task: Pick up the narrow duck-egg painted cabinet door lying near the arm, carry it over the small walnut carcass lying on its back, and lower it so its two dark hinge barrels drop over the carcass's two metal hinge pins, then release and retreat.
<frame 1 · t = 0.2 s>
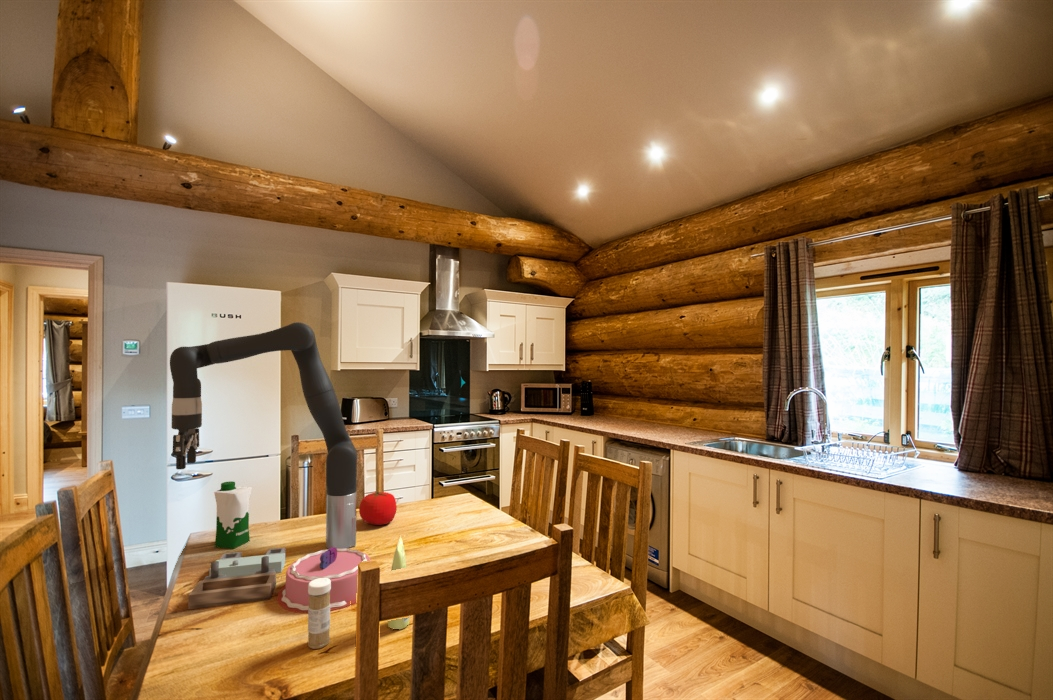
hand: (186, 465, 147), 29 cm above the table, fingers open, 8 cm apart
sprinkles bottle: (318, 644, 106), on the table
door: (248, 571, 140), on the table
carcass: (234, 596, 125), on the table
cake: (329, 590, 130), on the table
milk carton: (232, 544, 160), on the table
tomato: (378, 523, 181), on the table
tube: (398, 625, 113), on the table
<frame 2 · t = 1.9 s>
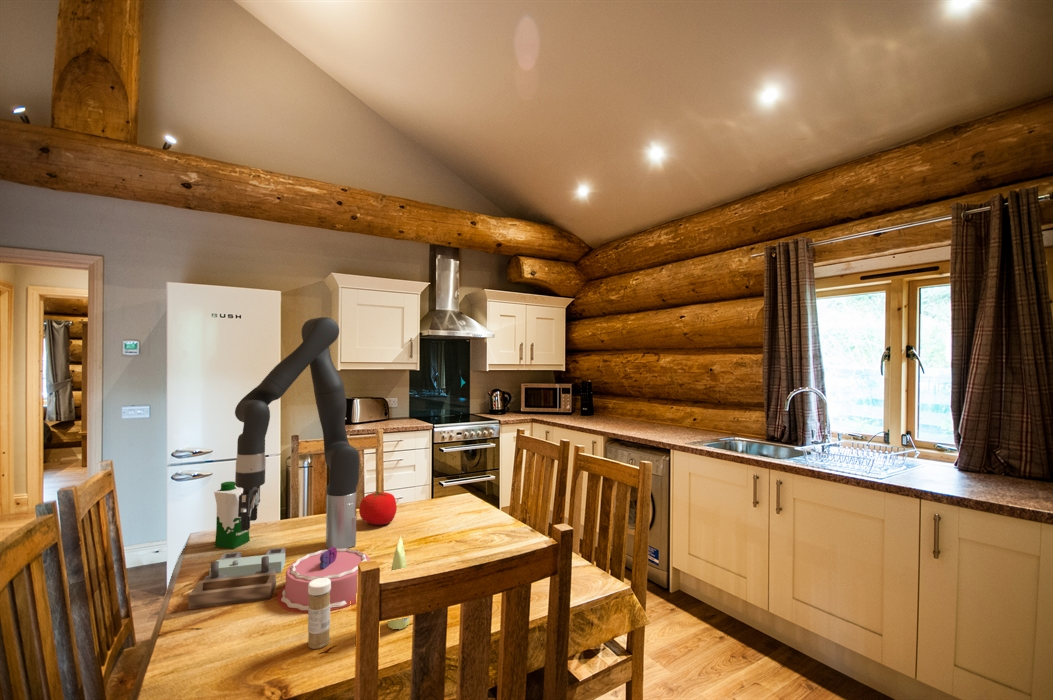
hand: (249, 525, 140), 13 cm above the table, fingers open, 8 cm apart
nothing on the table moved.
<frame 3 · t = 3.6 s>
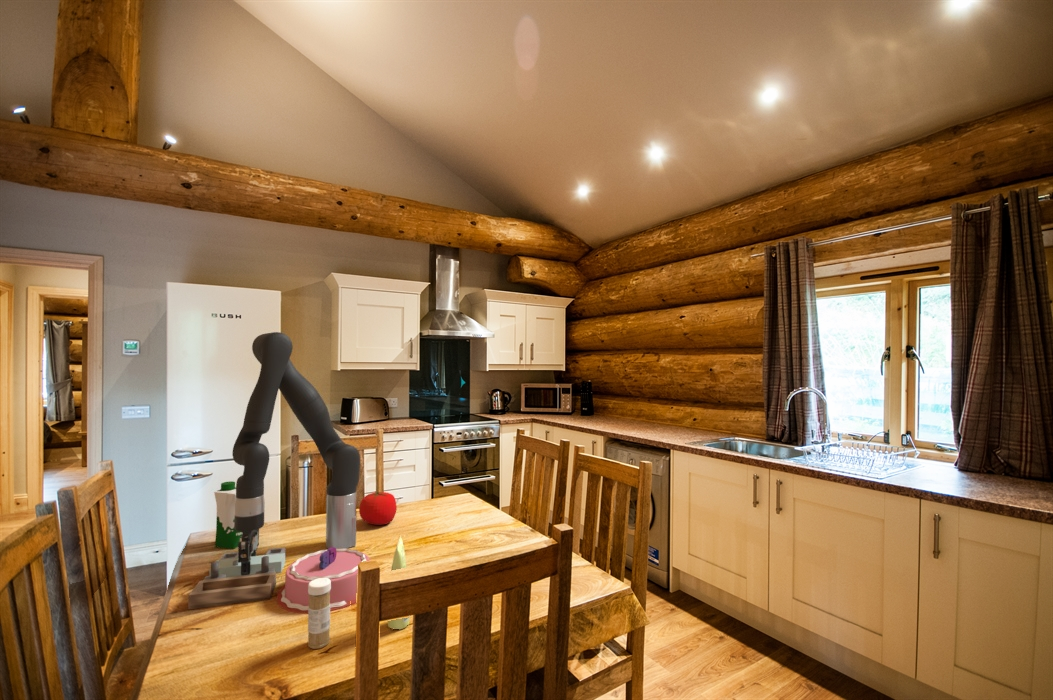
hand: (248, 569, 140), 1 cm above the table, fingers closed on door, 6 cm apart
door: (248, 571, 140), on the table, touching gripper
everything else where it was.
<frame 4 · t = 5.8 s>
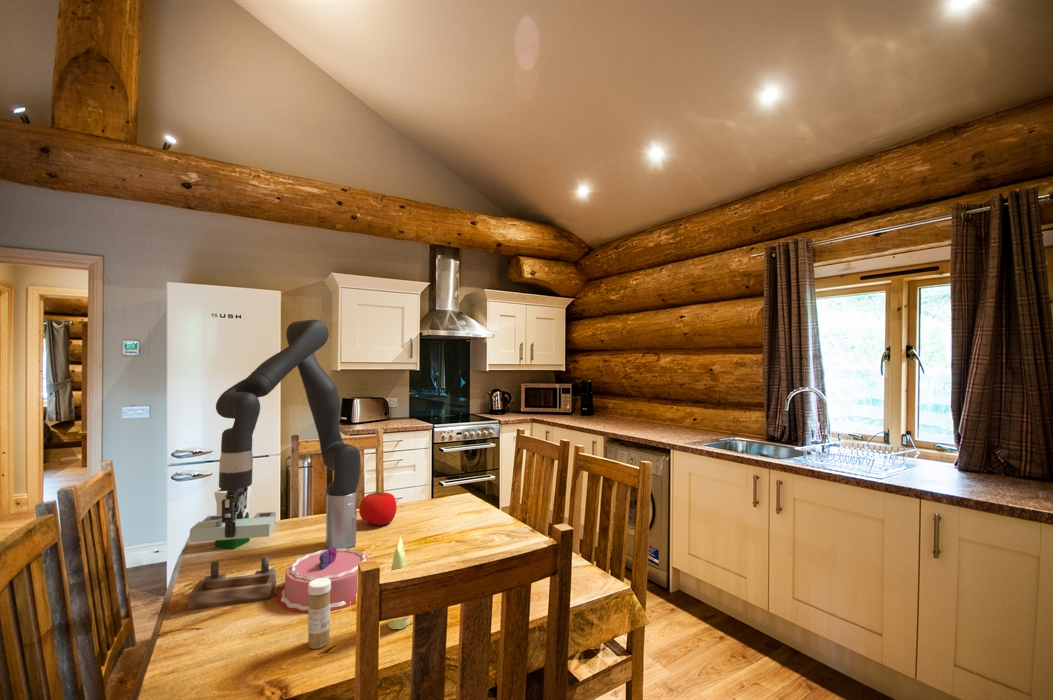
hand: (234, 532, 127), 16 cm above the table, fingers closed on door, 6 cm apart
door: (233, 535, 127), point 15 cm above the table, touching gripper
everything else where it was.
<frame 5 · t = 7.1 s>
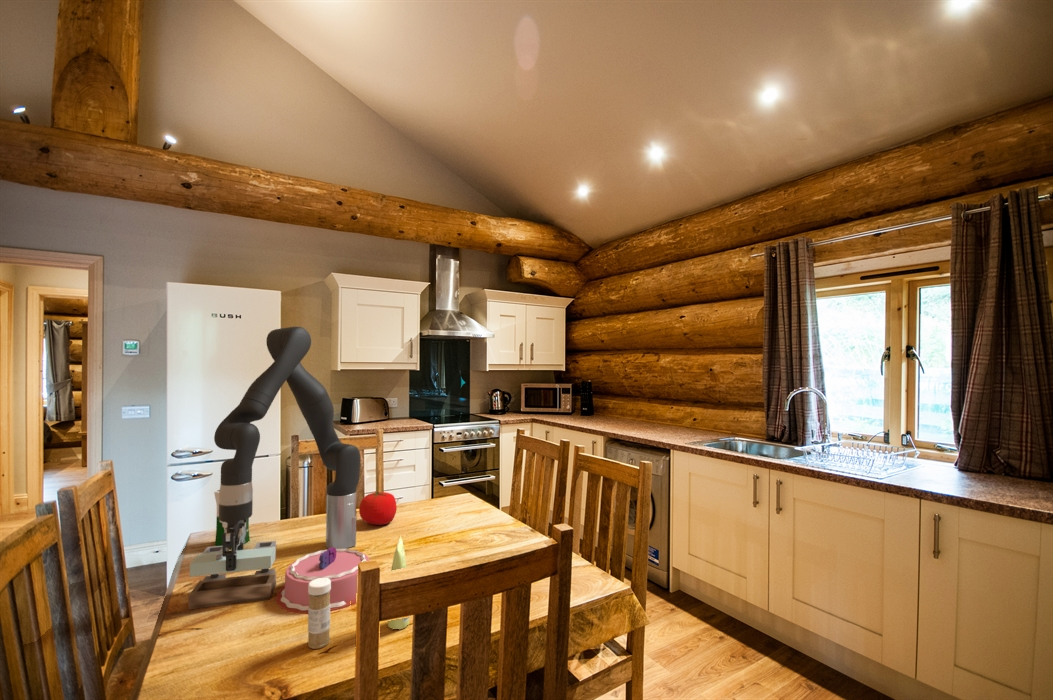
hand: (234, 564, 125), 8 cm above the table, fingers closed on door, 6 cm apart
door: (234, 567, 125), point 8 cm above the table, touching gripper
everything else where it was.
when the fingers open (5 cm above the table, at t = 8.2 s): door drops 1 cm, resting on carcass.
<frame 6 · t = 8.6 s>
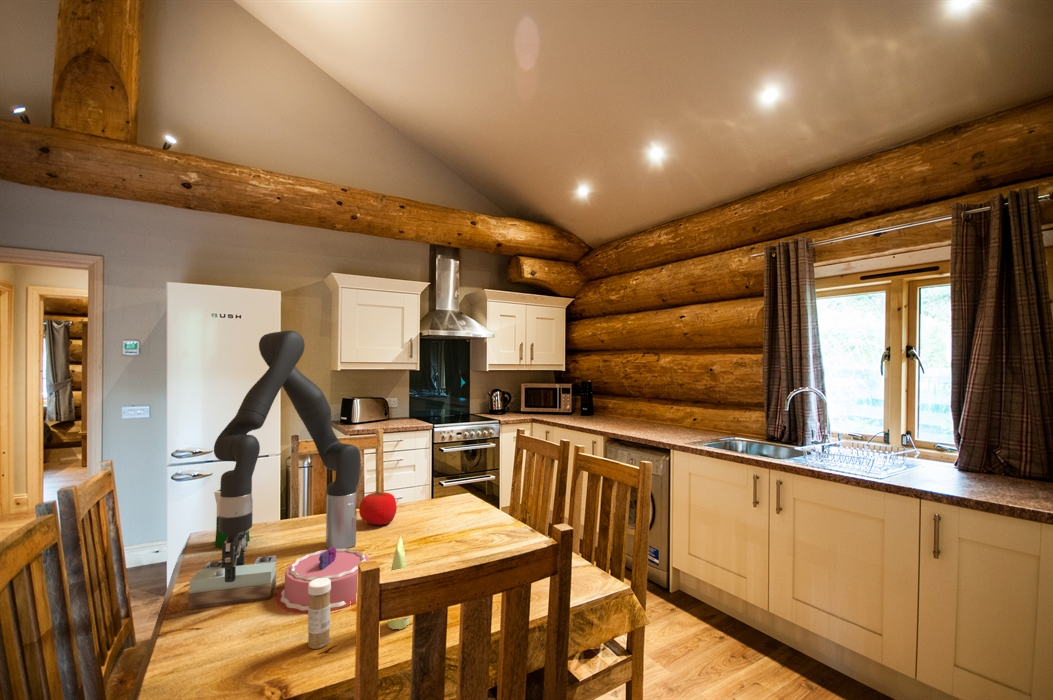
hand: (234, 574, 125), 6 cm above the table, fingers open, 8 cm apart
door: (234, 583, 125), point 3 cm above the table, touching carcass
everything else where it was.
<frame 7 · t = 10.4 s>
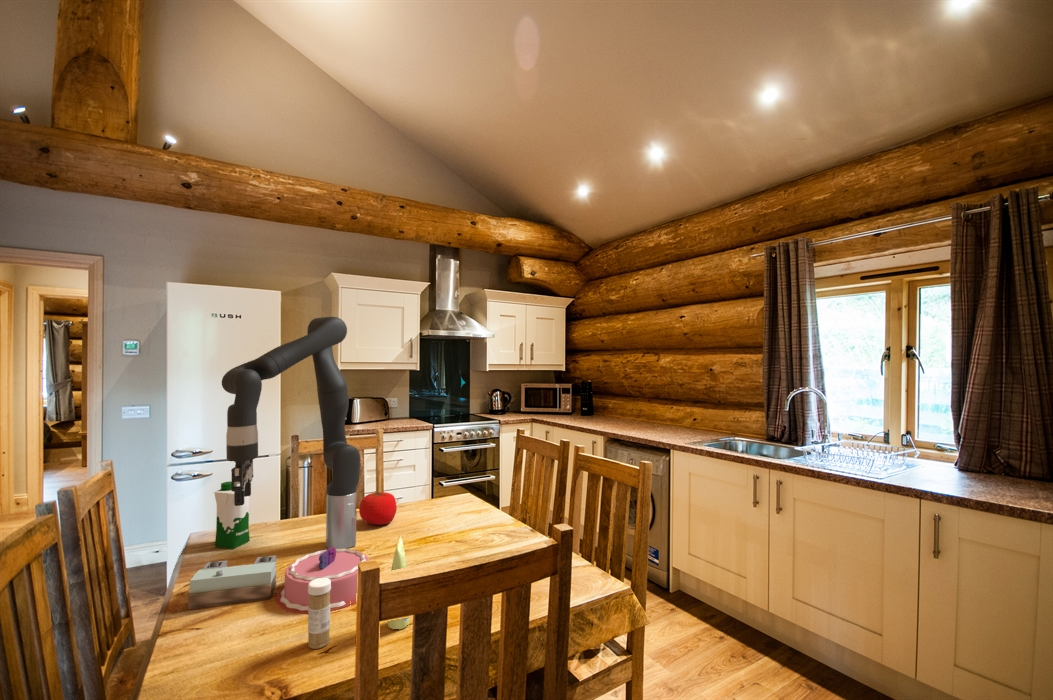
hand: (243, 500, 133), 23 cm above the table, fingers open, 8 cm apart
nothing on the table moved.
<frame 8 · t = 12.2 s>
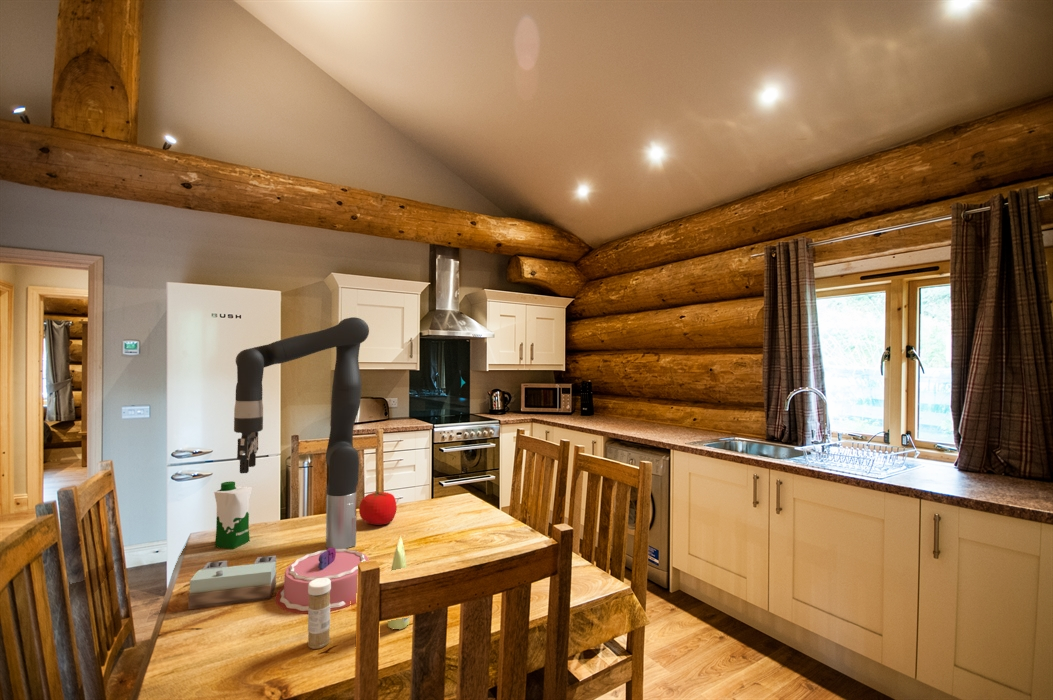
hand: (247, 469, 145), 28 cm above the table, fingers open, 8 cm apart
nothing on the table moved.
at the end: door 0.0 cm off-centre on the carcass, point 3.5 cm above the carcass's base; door tilted 0°; the gripper is holding nothing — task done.
